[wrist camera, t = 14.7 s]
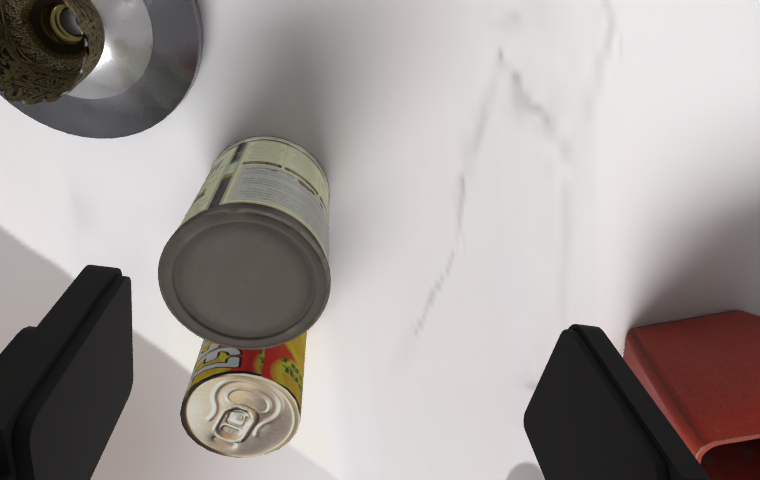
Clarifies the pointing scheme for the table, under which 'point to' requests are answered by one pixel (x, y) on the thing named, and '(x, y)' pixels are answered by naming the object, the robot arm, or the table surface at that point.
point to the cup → (46, 48)
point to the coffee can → (252, 248)
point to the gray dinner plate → (130, 70)
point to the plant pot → (706, 386)
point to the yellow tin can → (245, 398)
